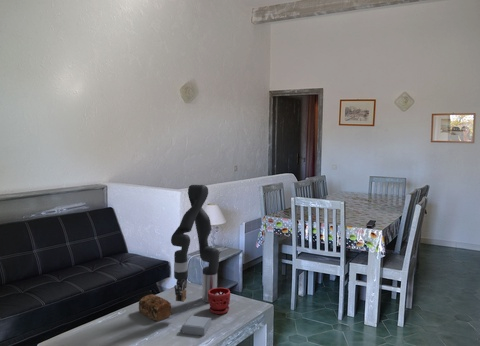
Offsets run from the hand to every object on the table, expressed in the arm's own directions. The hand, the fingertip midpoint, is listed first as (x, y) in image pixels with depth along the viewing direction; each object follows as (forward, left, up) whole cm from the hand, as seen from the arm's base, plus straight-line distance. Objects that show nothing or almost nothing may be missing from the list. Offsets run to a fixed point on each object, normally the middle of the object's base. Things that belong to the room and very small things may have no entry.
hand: (181, 298), depth 217 cm
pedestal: (+9, +13, -11) cm, 19 cm away
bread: (-1, -16, -12) cm, 20 cm away
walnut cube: (0, 0, -1) cm, 1 cm away
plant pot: (-16, +18, -12) cm, 26 cm away
